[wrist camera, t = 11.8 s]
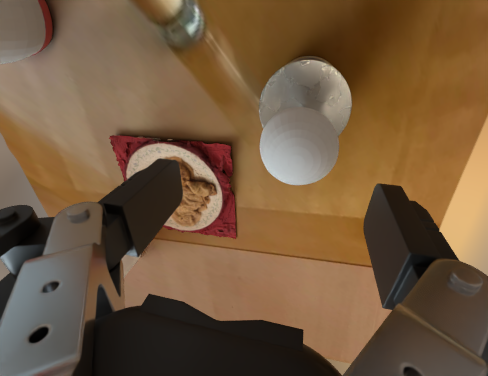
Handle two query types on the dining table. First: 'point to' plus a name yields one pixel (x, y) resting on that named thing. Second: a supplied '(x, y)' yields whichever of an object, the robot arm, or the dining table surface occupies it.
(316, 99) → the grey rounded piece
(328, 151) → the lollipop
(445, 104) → the dining table surface
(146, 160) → the plate with food
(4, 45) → the citrus juicer
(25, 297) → the robot arm
